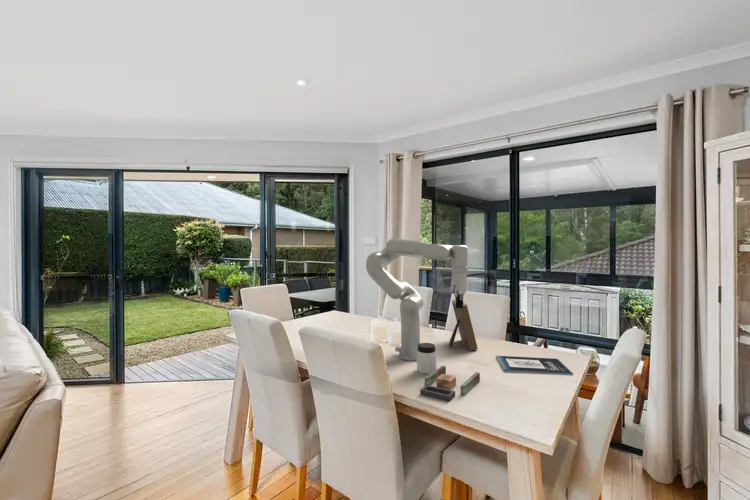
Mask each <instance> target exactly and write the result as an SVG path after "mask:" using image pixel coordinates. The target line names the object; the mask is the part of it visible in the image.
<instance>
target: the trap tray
mask: <svg viewBox="0 0 750 500" xmlns="http://www.w3.org/2000/svg"><path fill="white" fill-rule="evenodd" d="M419 392H420V393H419V394H420V395H419V396H423V395H424V397H427V398H431V399H436V400H440V401H444V402H448V403H450V402H451V401H452V400H453V399H454V398H455V397H456V391H455V390H453V389H452V390H448V389H443V388H439V387H437V386H434V385H426V386H425V385H424V387H422V388H421V389H420V391H419Z"/></svg>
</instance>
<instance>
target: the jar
mask: <svg viewBox="0 0 750 500" xmlns="http://www.w3.org/2000/svg"><path fill="white" fill-rule="evenodd" d="M416 370H417V372H419V374H425V375H429V374H431V373H432V372H434V371H435V370H437V351H436V345H435V343H431V342H420V344H418V350H417V360H416Z"/></svg>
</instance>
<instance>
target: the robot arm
mask: <svg viewBox="0 0 750 500" xmlns="http://www.w3.org/2000/svg"><path fill="white" fill-rule="evenodd" d="M468 250H469V249H468V246H467V245H465V244H455V245H451V244H434V243H427V242H421V241H420V240H414V239H412V240H411V239H403V238H390V239H389V240H388V241H387V242H386V246H385V248H384V249H382V250H380V251H374V252H371V253H370V254H369V255H368V256H367V258H366V262H365V270H366V273H367V274H368V276H369V277H370V279H372V280H373V281H374V283H376V285H378V286H379V287H380V289H382V290H383V292H385V294H386V295H388V297H389V298H390V299H393V300H400V301H401V302H399V303H400V304H399V313H400V334H401V335H400V338H401V339H400V346H395V349H394V351H395V352H398V354H397V355H398V356H397V357H398V359H400V360H402V361H407V362H408V361H411V362H412V361H417V350H418V344H420V343H421V339H420V338H421V337H420V336H421V334H420V332H421V324H420V310H421V309H422V308H423V307H424V299H423V297H422V296H421V294H420V293H418V292H417V290H415V289H414V287H412V286H411V285H410V284H409V283H408V282H407V281H405V280H404V279H396V278H395V277H394V276H393V275H392V274H391V273H390V272H389V271H388V270H386V269H385V267H387V266H388V265H390V264H392V262H394V261H395V260H396V259H398V258H399V257H400V256H401V257H410V258H416V259H427V260H434V261H446V260H450V259H451V278H450V294H452V295H453V297H454V300H455V299H456V308H463V302H464V297H465V296H464V295H465V293H467V290H468V278H467V277H468V276H467V274H468V268H469V267H468V264H469V263H468Z"/></svg>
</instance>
